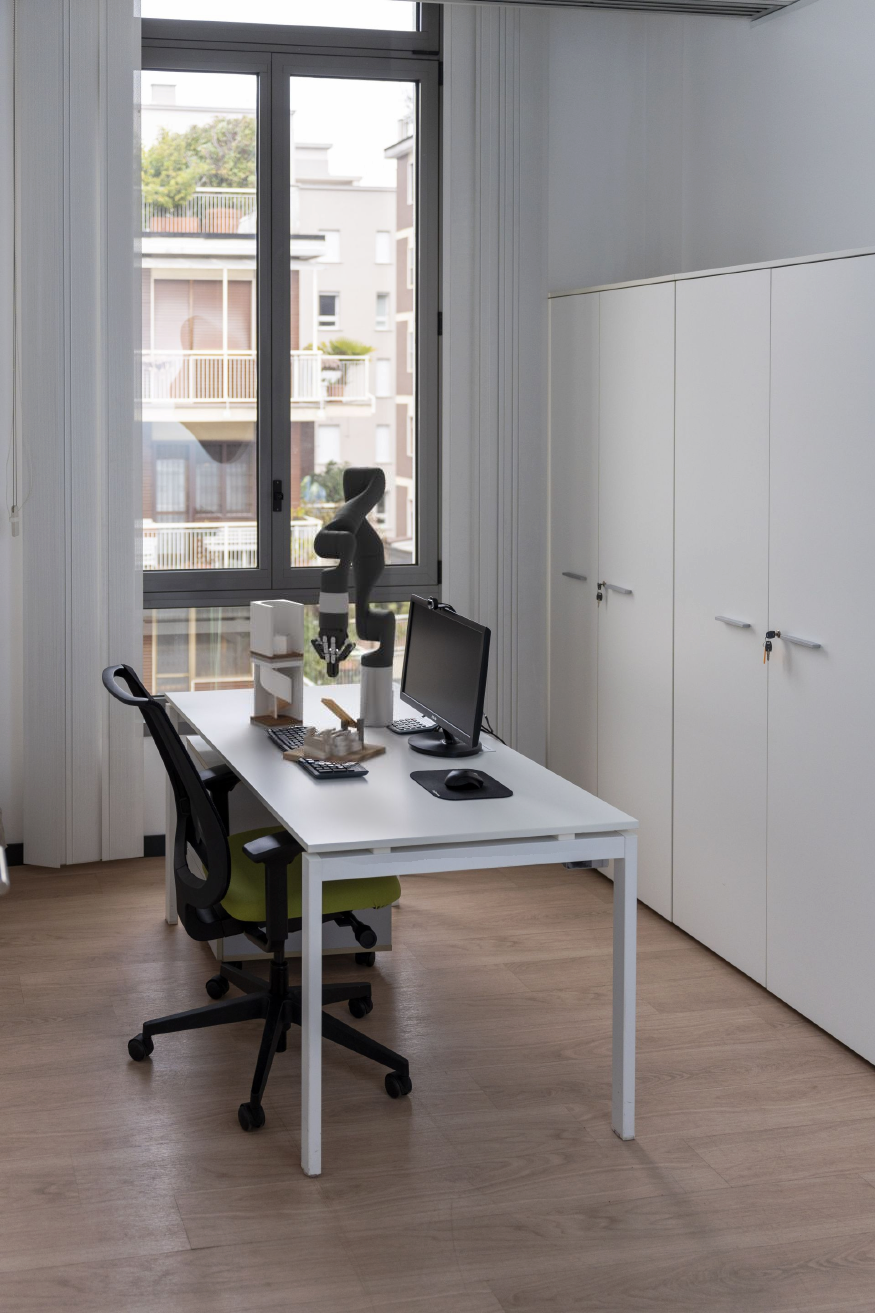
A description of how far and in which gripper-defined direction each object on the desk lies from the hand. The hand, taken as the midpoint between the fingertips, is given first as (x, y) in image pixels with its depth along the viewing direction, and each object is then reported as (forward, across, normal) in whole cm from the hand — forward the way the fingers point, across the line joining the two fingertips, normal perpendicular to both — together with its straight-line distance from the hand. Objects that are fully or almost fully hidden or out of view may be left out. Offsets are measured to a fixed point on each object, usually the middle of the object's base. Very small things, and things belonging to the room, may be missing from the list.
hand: (332, 676), depth 339 cm
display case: (+21, +33, -21) cm, 44 cm away
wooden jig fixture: (+21, 0, -2) cm, 21 cm away
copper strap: (+11, 0, -4) cm, 11 cm away
